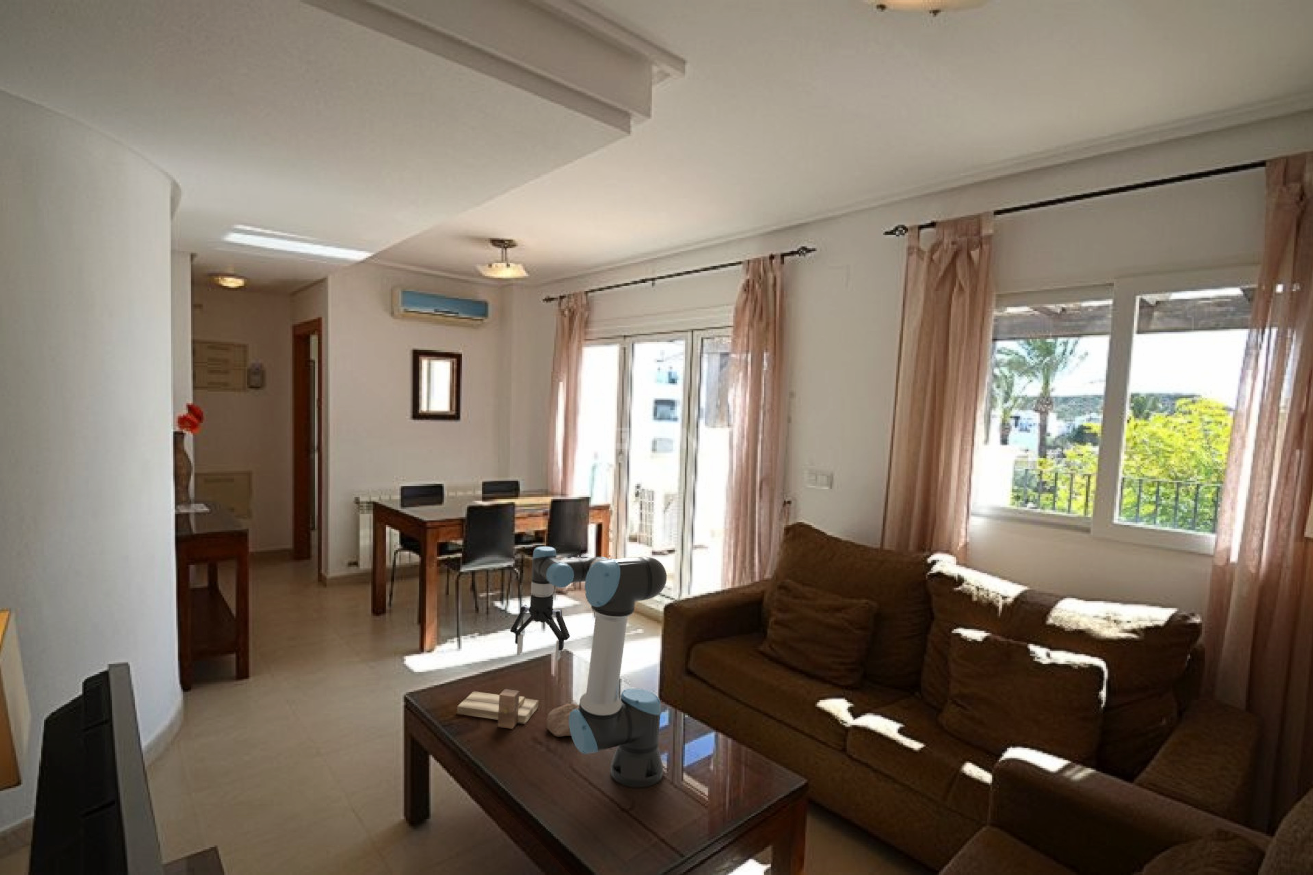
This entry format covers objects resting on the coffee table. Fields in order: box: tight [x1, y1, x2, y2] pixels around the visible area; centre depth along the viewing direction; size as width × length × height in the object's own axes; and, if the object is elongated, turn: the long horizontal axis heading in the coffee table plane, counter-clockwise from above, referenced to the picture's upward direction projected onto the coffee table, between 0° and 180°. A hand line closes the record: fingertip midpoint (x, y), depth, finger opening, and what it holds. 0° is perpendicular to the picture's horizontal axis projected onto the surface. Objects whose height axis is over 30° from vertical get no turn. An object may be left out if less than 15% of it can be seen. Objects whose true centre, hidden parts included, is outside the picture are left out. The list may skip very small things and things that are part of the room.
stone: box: [546, 702, 579, 737], centre depth 204 cm, size 12×9×10 cm
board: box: [456, 690, 539, 725], centre depth 214 cm, size 12×24×3 cm, turn 80°
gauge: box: [497, 688, 526, 730], centre depth 209 cm, size 15×5×10 cm, turn 170°
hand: (538, 656), depth 211 cm, fingers open, 13 cm apart
